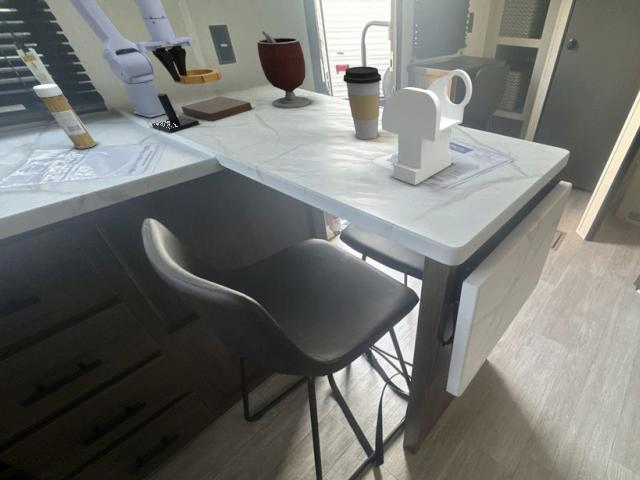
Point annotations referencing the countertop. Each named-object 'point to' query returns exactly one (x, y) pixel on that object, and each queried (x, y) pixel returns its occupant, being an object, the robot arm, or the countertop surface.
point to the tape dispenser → (424, 127)
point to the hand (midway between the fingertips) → (181, 80)
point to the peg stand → (173, 117)
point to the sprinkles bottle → (64, 115)
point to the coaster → (216, 108)
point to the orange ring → (200, 76)
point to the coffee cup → (364, 99)
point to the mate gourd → (283, 67)
